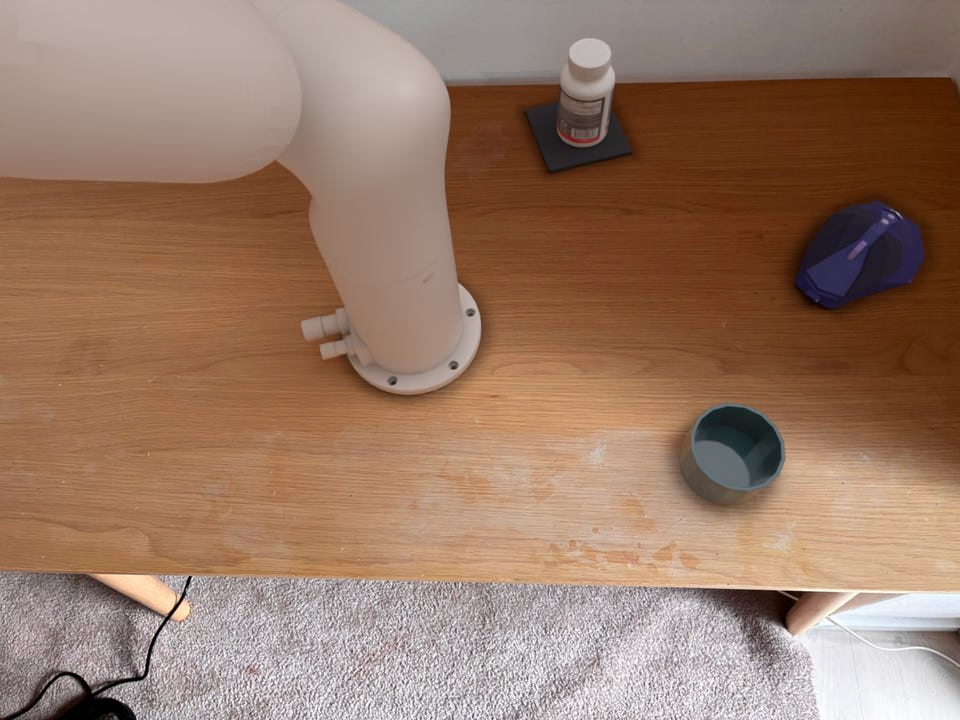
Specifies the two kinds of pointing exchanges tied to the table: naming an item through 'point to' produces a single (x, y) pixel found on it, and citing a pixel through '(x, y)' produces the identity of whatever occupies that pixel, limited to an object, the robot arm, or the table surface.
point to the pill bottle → (585, 93)
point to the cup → (731, 454)
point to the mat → (566, 155)
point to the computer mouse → (860, 255)
